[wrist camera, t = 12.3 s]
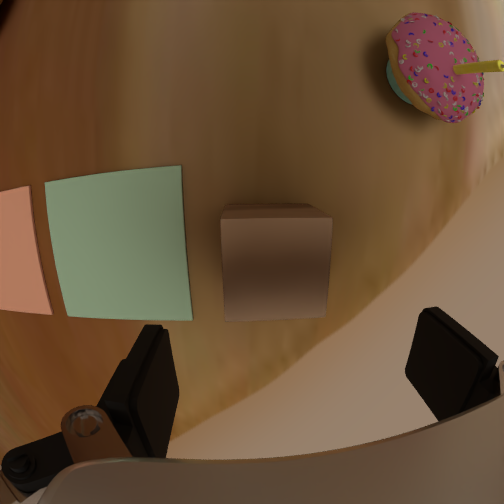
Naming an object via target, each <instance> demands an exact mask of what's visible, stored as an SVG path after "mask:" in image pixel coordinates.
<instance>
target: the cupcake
mask: <svg viewBox="0 0 504 504" xmlns="http://www.w3.org/2000/svg"><path fill="white" fill-rule="evenodd" d="M386 45H387V49H388V55H389V60H388V63H387V67H386V73H387V78H388V81H389V84H390V86H391V87H392V89H393V91H394V92H395V93H396V94H397V95H398V96H399V97H400V98H401V99H402V100H404V101H405V102H407V103H409V104H412V105H414V106H415V107H416V108H417V109H418V110H420V111H422V112H424V113H427V114H429V115H431V116H432V117H433V118H435V119H438V120H443V121H445V122H449V123H457V122H460V121H462V120H463V119H464V118H466V117H467V116H469V115H470V114H471V113H474V112H475V110H476V109H479V107H478V106H480V105H481V103H480V102H481V101H482V100H483V97H484V93H483V88H484V82H483V80H484V78H483V72H503V71H504V63H503V62H502V61H501V60H493V61H483V62H479V58H478V56H477V55H476V51H475V50H474V49H473V48H472V46H471V44H470V43H469V42H468V40H467V39H466V38H465V37H464V36H463V35H462V34H461V33H460V31H459V30H458V29H457V28H455V27H454V26H452V24H451V23H450V22H449V21H448V22H446V21H444V20H442V19H441V18H439V17H437V16H434V15H429V14H423V13H409V14H406V15H405V16H403V17H402V18H401V19H400V20H399V21H398V22H397V23H396V24H395V25H394V27H393V28H392V29H391V30H390V32H389V33H388V34H387V36H386ZM479 104H480V105H479Z"/></svg>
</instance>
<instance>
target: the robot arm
mask: <svg viewBox="0 0 504 504" xmlns="http://www.w3.org/2000/svg"><path fill="white" fill-rule="evenodd" d="M497 359H498V355H496V354H495V353H494V352H493V351H492V350H490V349H489V348H488V347H487V346H486V345H485V344H483V343H482V342H481V341H480V340H479V339H477V338H476V337H475V336H474V335H473V334H471V333H470V332H469V331H467V330H466V329H465V328H464V327H463V326H461V325H460V324H459V323H458V322H456V321H455V320H454V319H453V318H451V317H450V316H449V315H448V314H446V313H445V312H444V311H442V310H441V309H440V308H439V307H431V308H425V309H423V311H422V312H421V313H420V314H419V317H418V322H417V326H416V330H415V334H414V338H413V342H412V346H411V350H410V354H409V357H408V361H407V365H406V368H405V374H406V377H407V378H408V379H409V381H410V382H411V384H412V385H413V386H414V388H415V389H416V390H417V392H418V393H419V395H420V396H421V397H422V399H423V400H424V401H425V403H426V404H427V406H428V407H429V408H430V410H431V411H432V413H433V414H434V415H435V417H436V418H437V420H438V421H439V422H436V423H433V424H430V425H428V426H425V427H422V428H419V429H416V430H413V431H409V432H406V433H403V434H399V435H396V436H392V437H389V438H385V439H381V440H377V441H373V442H369V443H365V444H360V445H355V446H351V447H346V448H341V449H335V450H329V451H323V452H317V453H311V454H302V455H294V456H285V457H273V458H258V459H232V460H200V459H169V458H166V454H167V449H168V444H169V440H170V435H171V430H172V426H173V421H174V417H175V412H176V408H177V404H178V399H179V386H178V381H177V376H176V371H175V366H174V361H173V355H172V350H171V344H170V338H169V333H168V330H167V329H163V327H162V325H148V324H146V325H145V326H144V327H143V329H142V331H141V333H140V334H139V336H138V338H137V340H136V342H135V343H134V345H133V347H132V349H131V351H130V353H129V354H128V356H127V358H126V359H123V360H122V361H121V362H120V363H119V365H118V367H117V369H116V371H115V373H114V374H113V376H112V378H111V380H110V382H109V384H108V385H107V387H106V389H105V391H104V393H103V395H102V397H101V399H100V401H99V402H98V404H97V406H92V405H83V406H78V407H76V408H73V409H71V410H70V411H69V412H67V413H66V414H65V416H64V417H63V418H62V421H61V430H62V432H59V433H56V434H54V435H51V436H48V437H46V438H43V439H40V440H37V441H34V442H31V443H28V444H25V445H22V446H19V447H16V448H14V449H12V450H10V451H9V452H8V453H7V454H6V455H5V456H4V458H3V460H2V464H1V466H2V469H1V470H0V504H504V361H501V363H500V364H499V366H498V368H497V367H496V366H495V364H496V362H497Z"/></svg>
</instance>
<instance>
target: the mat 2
mask: <svg viewBox="0 0 504 504" xmlns="http://www.w3.org/2000/svg"><path fill="white" fill-rule="evenodd" d="M45 191H46V203H47V212H48V220H49V228H50V235H51V241H52V247H53V253H54V258H55V264H56V269H57V273H58V278H59V283H60V287H61V291H62V295H63V299H64V303H65V307H66V311H67V314H68V316H74V317H89V318H107V319H132V320H193V313H192V304H191V295H190V285H189V274H188V263H187V251H186V239H185V224H184V208H183V189H182V165H180V166H167V167H155V168H144V169H135V170H126V171H117V172H109V173H101V174H94V175H87V176H81V177H74V178H68V179H62V180H56V181H51V182H45Z"/></svg>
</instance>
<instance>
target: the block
mask: <svg viewBox="0 0 504 504" xmlns="http://www.w3.org/2000/svg"><path fill="white" fill-rule="evenodd" d="M220 223H221V249H222V272H223V292H224V311H225V322H233V321H265V320H287V319H304V318H319V317H326V308H327V297H328V286H329V274H330V261H331V245H332V227H333V218H332V217H331V216H329V215H327V214H325V213H324V212H322V211H320V210H318V209H316V208H315V207H313V206H311V205H309V204H236V205H225V207H224V210H223V213H222V216H221V219H220Z"/></svg>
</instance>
